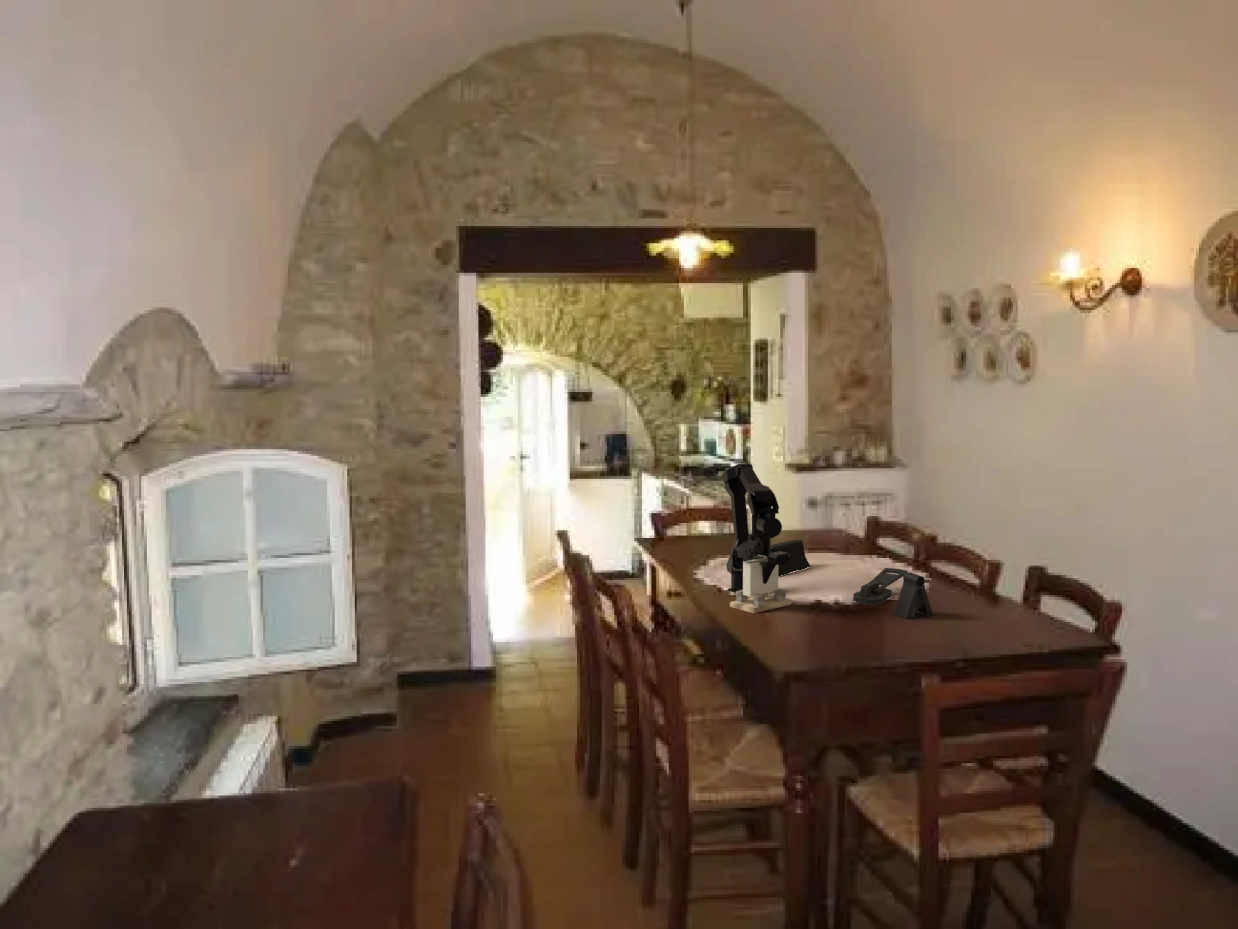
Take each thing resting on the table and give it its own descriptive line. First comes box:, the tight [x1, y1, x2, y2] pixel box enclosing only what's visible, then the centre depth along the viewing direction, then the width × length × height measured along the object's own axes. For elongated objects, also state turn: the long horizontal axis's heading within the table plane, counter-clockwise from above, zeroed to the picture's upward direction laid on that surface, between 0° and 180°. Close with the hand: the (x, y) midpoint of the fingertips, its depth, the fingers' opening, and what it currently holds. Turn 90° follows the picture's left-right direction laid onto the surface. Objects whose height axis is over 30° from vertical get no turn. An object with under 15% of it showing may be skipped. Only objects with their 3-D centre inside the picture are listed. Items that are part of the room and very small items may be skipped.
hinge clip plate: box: [729, 589, 792, 614], centre depth 293 cm, size 10×16×4 cm, turn 128°
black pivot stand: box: [893, 571, 934, 620], centre depth 280 cm, size 9×6×12 cm, turn 109°
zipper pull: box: [852, 567, 909, 606], centre depth 303 cm, size 9×7×25 cm
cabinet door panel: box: [743, 558, 779, 598], centre depth 293 cm, size 3×12×10 cm, turn 128°
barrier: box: [763, 539, 811, 577], centre depth 339 cm, size 24×9×10 cm, turn 135°
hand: (760, 582), depth 293 cm, fingers closed on cabinet door panel, 3 cm apart
